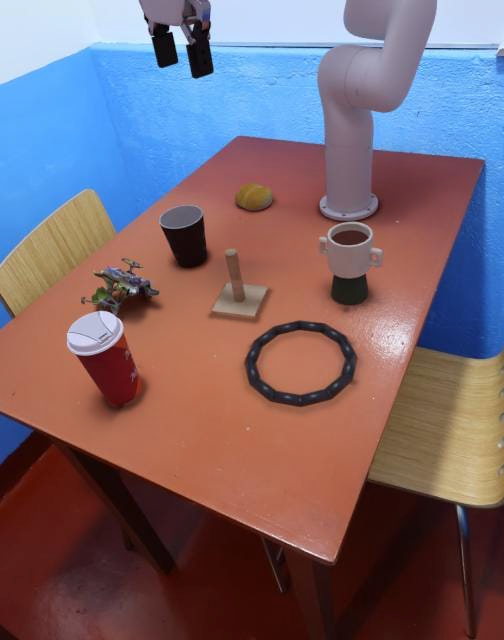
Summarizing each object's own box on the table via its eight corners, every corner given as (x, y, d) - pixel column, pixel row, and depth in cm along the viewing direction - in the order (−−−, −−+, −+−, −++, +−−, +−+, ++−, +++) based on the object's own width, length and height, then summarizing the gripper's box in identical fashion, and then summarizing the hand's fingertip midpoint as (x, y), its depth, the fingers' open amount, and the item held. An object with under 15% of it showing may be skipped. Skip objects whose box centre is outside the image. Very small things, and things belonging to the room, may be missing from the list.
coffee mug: (206, 272, 93) (195, 228, 86) (165, 271, 95) (152, 228, 88) (221, 239, 101) (212, 196, 94) (183, 238, 103) (172, 197, 96)
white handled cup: (387, 293, 81) (392, 228, 72) (371, 318, 77) (375, 253, 68) (329, 278, 86) (327, 216, 77) (312, 301, 82) (308, 238, 73)
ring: (265, 321, 80) (263, 313, 79) (363, 334, 75) (364, 325, 74) (231, 397, 69) (229, 390, 68) (344, 419, 64) (344, 411, 62)
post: (228, 287, 88) (217, 236, 81) (268, 291, 86) (261, 239, 78) (212, 315, 83) (199, 264, 75) (255, 321, 80) (245, 268, 73)
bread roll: (256, 215, 106) (253, 199, 103) (230, 204, 111) (227, 189, 109) (281, 200, 110) (280, 184, 107) (255, 190, 115) (253, 174, 112)
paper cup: (159, 388, 72) (131, 322, 63) (119, 422, 68) (82, 357, 59) (129, 366, 76) (99, 301, 67) (90, 396, 73) (52, 332, 63)
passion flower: (151, 317, 93) (172, 279, 85) (113, 347, 85) (133, 309, 77) (108, 280, 93) (125, 239, 85) (67, 306, 85) (81, 264, 77)
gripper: (219, -102, 50) (242, 72, 62) (148, -90, 61) (178, 55, 73) (158, -92, 47) (193, 88, 59) (94, -81, 59) (135, 68, 70)
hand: (185, 70), depth 66 cm, fingers open, 9 cm apart
